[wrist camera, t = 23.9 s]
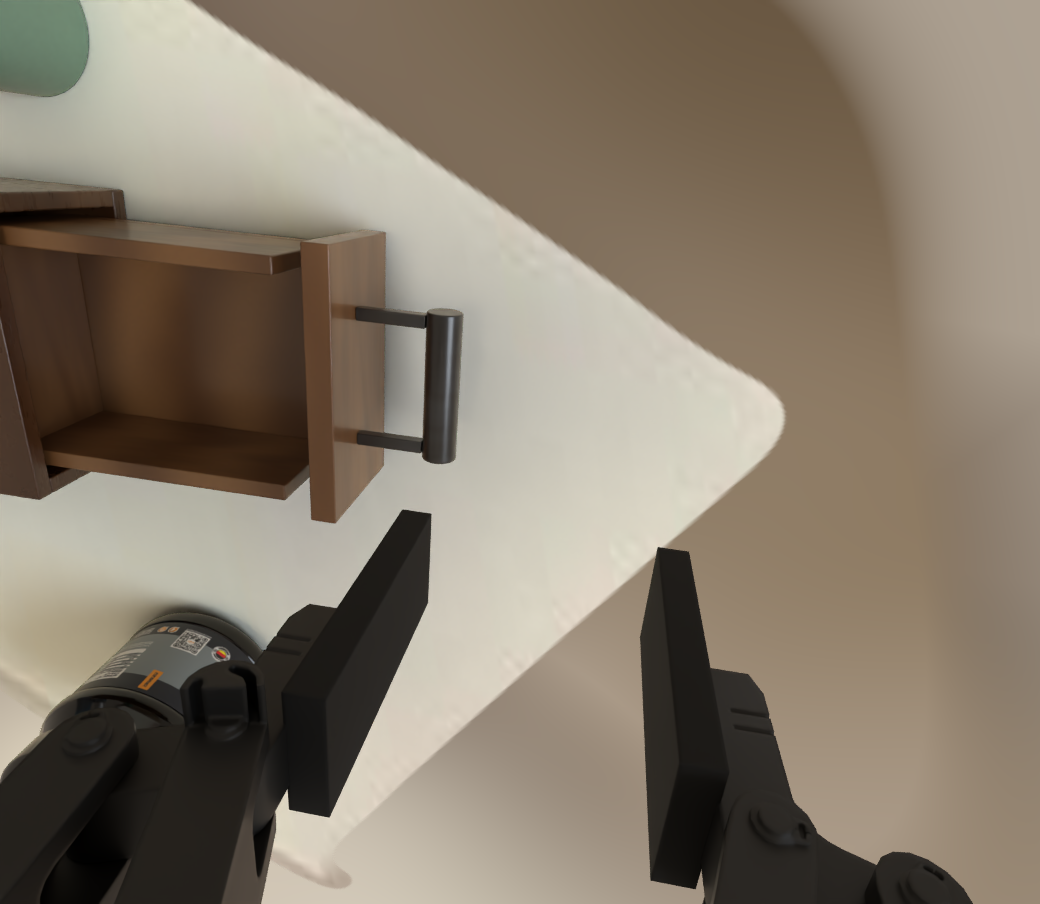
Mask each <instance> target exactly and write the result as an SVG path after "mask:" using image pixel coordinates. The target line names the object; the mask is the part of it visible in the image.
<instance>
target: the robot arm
mask: <svg viewBox="0 0 1040 904" xmlns="http://www.w3.org/2000/svg"><path fill="white" fill-rule="evenodd" d="M430 539H431V514H430V513H423V512H416V511H409V510H402V511H401V513H400V514H399V516H398V517H397V519H396V520H395V522H394V523H393V525H392V526H391V528H390V529H389V531H388V532H387V534H386V535H385V537H384V538H383V540H382V541H381V543H380V544H379V546H378V547H377V549H376V550H375V552H374V553H373V555H372V556H371V558H370V559H369V561H368V562H367V564H366V565H365V567H364V568H363V570H362V571H361V573H360V574H359V576H358V577H357V579H356V580H355V582H354V583H353V585H352V586H351V588H350V589H349V591H348V592H347V594H346V595H345V597H344V598H343V600H342V601H341V603H340V604H339V606H338V607H337V608H331V607H325V606H319V605H313V604H309V605H307V606H306V607H304V608H302V609H301V610H299V611H298V612H296V613H295V614H293V615H292V616H290V617H289V618H288V620H287V621H286V622H285V623H284V625H283V626H282V627H281V629H280V630H279V631H278V633H277V636H275V637H274V638H273V639H272V641H271V642H270V643H269V644H268V646H267V649H266V650H264V651H263V652H262V654H261V655H260V656H259V658H258V659H257V660H256V662H255V663H254V664H252V663H250V662H248V661H241V660H227V661H220V662H215V663H212V664H210V665H207V666H205V667H202V668H200V669H199V670H197V671H196V672H195V673H193V674H192V675H190V676H189V677H188V678H187V679H186V680H185V682H184V683H183V684H182V686H181V687H180V688H179V689H180V696H181V703H182V710H183V716H184V723H185V724H181V725H175V726H166V727H155V728H143V729H136V727H135V722H134V719H133V718H132V717H131V716H130V714H129V713H128V712H126V711H123V710H120V709H117V708H97V709H93V710H89V711H85V712H81V713H79V714H77V715H75V716H73V717H71V718H69V719H67V720H65V721H63V722H62V723H61V724H59V725H58V726H57V727H56V728H54V729H53V730H52V731H51V732H49V733H48V735H47V736H46V737H45V738H44V739H43V740H42V741H41V742H40V743H39V744H38V745H37V746H36V747H35V748H34V749H33V750H32V751H31V752H30V753H29V754H28V755H27V756H26V757H25V758H24V759H23V760H22V761H21V762H20V764H19V765H18V766H17V767H16V768H15V769H14V770H13V771H12V772H11V773H10V774H9V775H8V776H7V777H6V778H5V779H4V780H3V781H2V782H1V783H0V904H261V901H262V896H263V891H264V886H265V882H266V877H267V871H268V867H269V862H270V857H271V852H272V847H273V842H274V838H275V833H276V814H275V811H276V809H277V807H278V805H279V803H280V801H281V800H282V798H283V796H284V794H285V792H286V791H287V789H288V800H289V810H293V811H298V812H304V813H309V814H314V815H319V816H324V817H329V818H330V815H331V813H332V811H333V809H334V807H335V805H336V802H337V800H338V798H339V796H340V794H341V791H342V789H343V787H344V785H345V783H346V781H347V778H348V776H349V774H350V772H351V770H352V767H353V765H354V763H355V761H356V759H357V756H358V754H359V752H360V750H361V748H362V746H363V743H364V741H365V739H366V737H367V735H368V732H369V730H370V728H371V726H372V724H373V722H374V719H375V717H376V715H377V713H378V711H379V708H380V706H381V704H382V702H383V700H384V698H385V695H386V693H387V691H388V689H389V687H390V684H391V682H392V680H393V678H394V676H395V674H396V671H397V669H398V667H399V665H400V663H401V660H402V658H403V656H404V654H405V652H406V650H407V647H408V645H409V643H410V641H411V639H412V636H413V634H414V632H415V630H416V628H417V626H418V623H419V621H420V619H421V617H422V615H423V612H424V610H425V608H426V606H427V604H428V589H429V564H430ZM640 642H641V643H640V644H641V668H642V691H643V714H644V737H645V761H646V784H647V806H648V807H647V808H648V832H649V854H650V878H651V881H656V882H661V883H667V884H671V885H676V886H681V887H687V888H692V889H696V886H697V883H698V879H699V876H700V872H701V869H702V877H703V886H704V893H705V897H704V900H703V904H973V903H972V901H971V900H970V898H969V897H968V895H967V893H966V892H965V890H964V889H963V888H962V887H961V886H960V885H959V884H958V883H957V882H956V881H955V880H954V879H953V878H952V877H951V876H950V875H949V874H948V873H947V872H946V871H945V870H943V869H942V868H940V867H938V866H937V865H935V864H934V863H932V862H931V861H929V860H927V859H925V858H922V857H919V856H917V855H914V854H911V853H905V852H892V853H889V854H887V855H885V856H882V857H881V858H880V860H879V862H878V864H877V865H875V864H873V863H871V862H869V861H866V860H864V859H862V858H860V857H858V856H856V855H854V854H851V853H849V852H847V851H845V850H843V849H841V848H839V847H837V846H835V845H834V844H832V843H830V842H828V841H827V840H826V839H824V838H823V837H822V836H820V835H819V834H818V833H817V831H816V828H815V827H814V825H813V823H812V822H811V820H810V819H809V817H808V815H807V814H806V813H805V812H804V811H802V809H800V808H799V807H798V806H797V805H796V804H795V803H794V801H793V798H792V794H791V791H790V787H789V784H788V780H787V776H786V773H785V769H784V766H783V762H782V759H781V755H780V751H779V748H778V744H777V741H776V737H775V736H774V730H773V726H772V723H771V719H769V712H768V708H767V705H766V701H765V698H764V694H763V693H762V691H761V690H760V689H759V688H758V686H757V685H756V684H755V682H754V681H753V680H752V679H751V677H750V676H749V675H748V674H743V673H737V672H731V671H725V670H719V669H712V668H710V663H709V658H708V652H707V647H706V641H705V636H704V631H703V625H702V620H701V615H700V609H699V605H698V599H697V593H696V587H695V582H694V576H693V571H692V566H691V560H690V555H689V552H687V551H680V550H673V549H667V548H660V547H658V549H657V554H656V559H655V564H654V569H653V574H652V579H651V584H650V590H649V595H648V600H647V605H646V610H645V615H644V621H643V625H642V630H641V636H640Z"/></svg>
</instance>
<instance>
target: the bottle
mask: <svg viewBox="0 0 1040 904" xmlns="http://www.w3.org/2000/svg"><path fill="white" fill-rule="evenodd" d="M88 47H89V41H88V29H87V24H86V20H85V16H84V13H83V10H82V7H81V5H80V2H79V0H0V91H6V92H13V93H20V94H27V95H34V96H41V97H50V96H55V95H59V94H61V93H64V92H65V91H67V90H68V89H70V88H71V87H72V86H73V85H74V84H75V83H76V82H77V81H78V79H79V78H80V76H81V74H82V72H83V70H84V68H85V65H86V61H87V56H88Z"/></svg>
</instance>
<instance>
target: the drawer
mask: <svg viewBox="0 0 1040 904" xmlns="http://www.w3.org/2000/svg"><path fill="white" fill-rule="evenodd" d="M385 248H386V233H385V232H379V231H370V230H359V231H354V232H348V233H343V234H338V235H332V236H327V237H322V238H316V239H311V240H307V239H297V238H288V237H279V236H270V235H261V234H251V233H242V232H233V231H224V230H215V229H206V228H196V227H187V226H178V225H169V224H160V223H150V222H141V221H132V220H123V219H114V218H105V217H95V216H86V215H77V214H54V215H36V216H19V217H2V218H0V249H1V254H2V258H3V263H4V268H5V273H6V277H7V282H8V287H9V291H10V296H11V301H12V306H13V310H14V315H15V320H16V325H17V329H18V334H19V339H20V344H21V348H22V353H23V358H24V362H25V367H26V372H27V377H28V381H29V386H30V391H31V396H32V400H33V405H34V410H35V415H36V419H37V424H38V429H39V433H40V438H41V443H42V448H43V452H44V457H45V462H46V465H52V466H58V467H65V468H72V469H79V470H85V471H92V472H99V473H105V474H112V475H119V476H126V477H132V478H139V479H146V480H152V481H159V482H166V483H173V484H179V485H186V486H193V487H199V488H206V489H213V490H220V491H226V492H233V493H240V494H247V495H253V496H260V497H267V498H273V499H280V500H286V499H287V498H288V497H289V496H290V495H291V494H292V493H293V492H294V491H295V490H296V489H297V488H298V487H299V486H300V485H302V484H303V483H304V482H305V481H306V480H307V479H308V478H309V477H310V499H311V519H312V520H316V521H322V522H329V523H336V522H337V521H338V520H339V519H340V517H341V516H342V515H343V514H344V513H345V511H346V510H347V509H348V508H349V507H350V505H351V504H352V503H353V502H354V501H355V499H356V498H357V497H358V496H359V495H360V493H361V492H362V491H363V490H364V489H365V487H366V486H367V485H368V484H369V483H370V481H371V480H372V479H373V478H374V477H375V475H376V474H377V473H378V472H379V471H380V469H381V468H382V467H383V466H384V448H386V449H393V450H401V451H408V452H415V453H421V452H422V457H423V459H424V460H425V461H427V462H430V463H434V464H446V463H450V462H452V461H454V460H455V458H456V442H457V423H458V405H459V386H460V368H461V349H462V331H463V313H462V312H460V311H457V310H452V309H430V310H428V311H427V313H420V312H412V311H403V310H395V309H386V308H385ZM385 324H389V325H397V326H405V327H414V328H422V329H425V328H426V352H425V382H424V413H423V438H418V437H411V436H403V435H396V434H389V433H384V374H385Z"/></svg>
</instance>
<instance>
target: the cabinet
mask: <svg viewBox="0 0 1040 904" xmlns="http://www.w3.org/2000/svg"><path fill="white" fill-rule="evenodd" d="M54 214H77V215H86V216H95V217H105V218H114V219H123V220H127V219H126V212H125V205H124V197H123V191H122V190H117V189H107V188H98V187H88V186H79V185H69V184H59V183H50V182H40V181H31V180H21V179H12V178H2V177H0V218H2V217H19V216H36V215H54ZM89 472H91V471H85V470H79V469H72V468H65V467H58V466H52V465H46V462H45V457H44V452H43V448H42V443H41V438H40V433H39V429H38V424H37V419H36V415H35V410H34V405H33V400H32V396H31V391H30V386H29V381H28V377H27V372H26V367H25V362H24V358H23V353H22V348H21V344H20V339H19V334H18V329H17V325H16V320H15V315H14V310H13V306H12V301H11V296H10V291H9V287H8V282H7V277H6V273H5V268H4V263H3V258H2V254H1V249H0V494H5V495H12V496H18V497H25V498H31V499H37V500H40V499H42V498H44V497H46V496H47V495H49V494H51V493H52V492H55V491H56V490H58V489H60V488H62V487H64V486H66V485H67V484H69V483H71V482H73V481H75V480H77V479H78V478H80V477H82V476H84V475H86V474H88V473H89Z"/></svg>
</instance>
